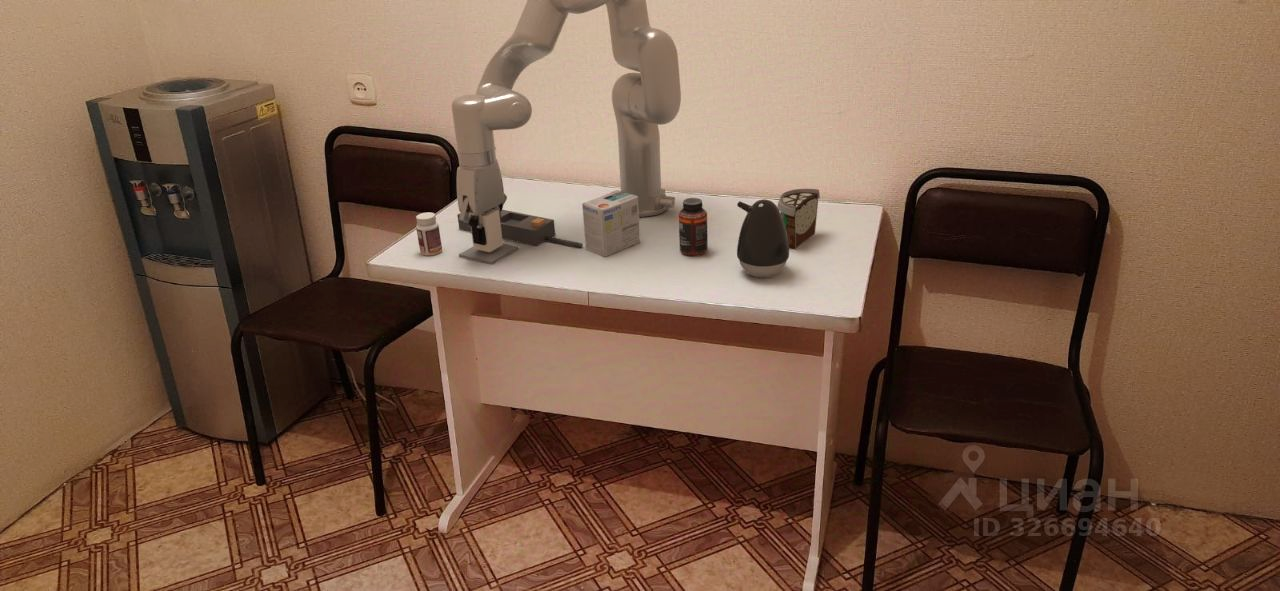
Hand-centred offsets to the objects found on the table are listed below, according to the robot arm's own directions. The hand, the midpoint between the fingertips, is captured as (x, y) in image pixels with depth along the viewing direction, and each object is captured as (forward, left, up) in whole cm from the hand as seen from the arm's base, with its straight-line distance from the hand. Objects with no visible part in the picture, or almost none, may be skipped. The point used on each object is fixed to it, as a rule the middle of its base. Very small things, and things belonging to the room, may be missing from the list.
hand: (487, 238), depth 192 cm
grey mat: (0, 0, -3) cm, 3 cm away
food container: (-55, -35, -4) cm, 65 cm away
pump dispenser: (-56, -17, -4) cm, 59 cm away
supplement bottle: (-39, -20, -4) cm, 44 cm away
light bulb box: (-22, -15, -4) cm, 27 cm away
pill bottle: (+12, +5, -4) cm, 14 cm away
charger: (0, 0, -2) cm, 2 cm away
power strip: (-1, -11, -3) cm, 11 cm away
